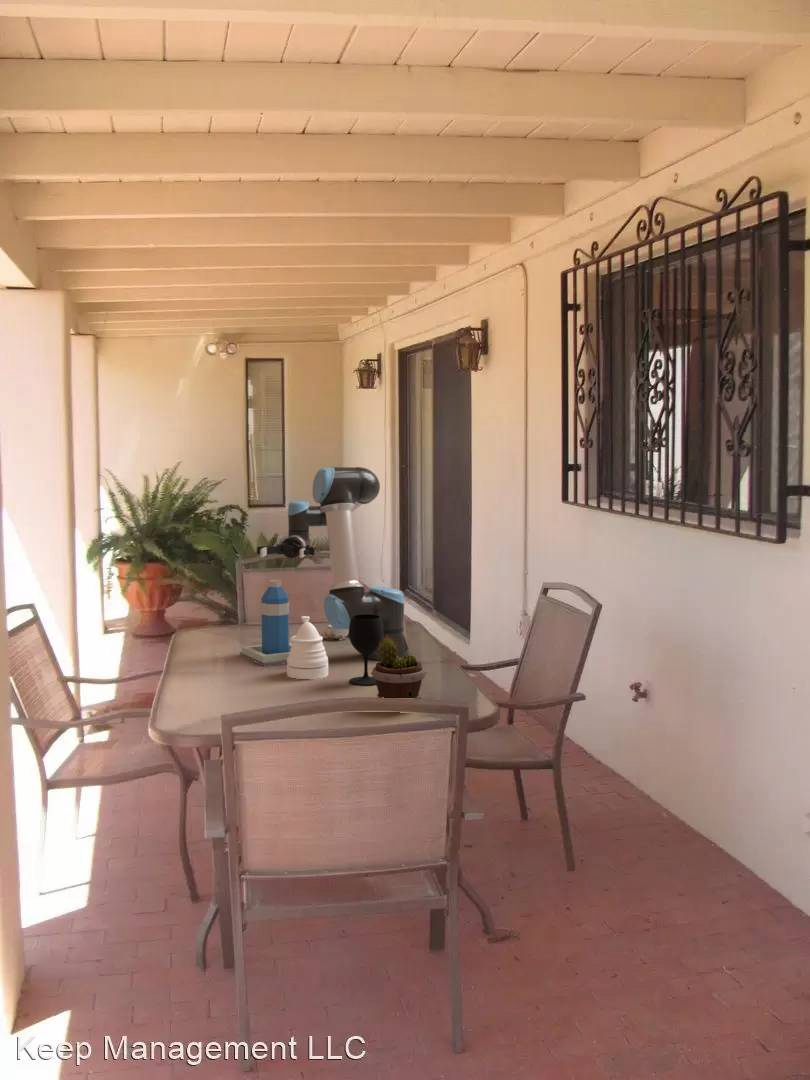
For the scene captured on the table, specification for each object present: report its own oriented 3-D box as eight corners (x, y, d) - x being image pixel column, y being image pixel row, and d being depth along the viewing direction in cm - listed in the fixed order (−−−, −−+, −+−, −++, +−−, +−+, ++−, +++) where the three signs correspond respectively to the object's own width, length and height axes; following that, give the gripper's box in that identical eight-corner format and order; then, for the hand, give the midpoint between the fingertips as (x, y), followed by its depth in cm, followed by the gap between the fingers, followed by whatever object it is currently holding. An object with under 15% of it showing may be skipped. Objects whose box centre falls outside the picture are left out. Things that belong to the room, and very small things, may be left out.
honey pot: (281, 672, 327) (281, 615, 325) (320, 668, 332) (320, 613, 330) (293, 681, 315) (293, 623, 313) (334, 677, 320) (333, 620, 318)
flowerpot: (435, 703, 291) (435, 633, 289) (405, 716, 278) (406, 642, 276) (391, 695, 299) (392, 627, 297) (361, 707, 286) (361, 636, 284)
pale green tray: (312, 660, 343) (312, 651, 343) (265, 666, 334) (265, 657, 334) (285, 649, 360) (285, 640, 360) (239, 654, 351) (239, 646, 351)
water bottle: (256, 656, 345) (255, 581, 342) (270, 650, 353) (269, 577, 351) (281, 658, 341) (280, 583, 338) (294, 653, 350) (294, 579, 347)
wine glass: (370, 687, 308) (370, 621, 306) (341, 682, 314) (341, 617, 311) (389, 680, 317) (389, 615, 315) (361, 676, 322) (361, 612, 320)
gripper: (327, 557, 373) (317, 565, 352) (259, 556, 376) (245, 564, 355) (327, 536, 373) (317, 543, 352) (259, 535, 375) (244, 542, 354)
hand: (281, 553), depth 353 cm, fingers open, 13 cm apart
